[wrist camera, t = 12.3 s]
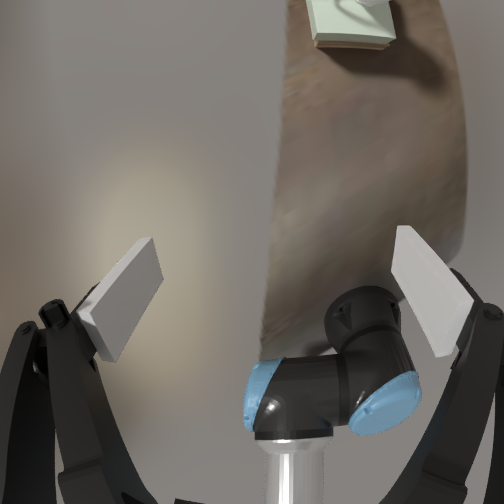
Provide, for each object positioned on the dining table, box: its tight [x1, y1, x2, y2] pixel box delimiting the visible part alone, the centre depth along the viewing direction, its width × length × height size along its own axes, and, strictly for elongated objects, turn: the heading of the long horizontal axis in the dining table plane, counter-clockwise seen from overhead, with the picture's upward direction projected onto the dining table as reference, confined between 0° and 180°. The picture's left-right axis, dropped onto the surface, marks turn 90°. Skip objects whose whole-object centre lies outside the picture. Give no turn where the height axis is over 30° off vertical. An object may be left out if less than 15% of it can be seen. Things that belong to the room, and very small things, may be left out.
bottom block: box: [315, 41, 390, 50], centre depth 26 cm, size 13×10×4 cm
